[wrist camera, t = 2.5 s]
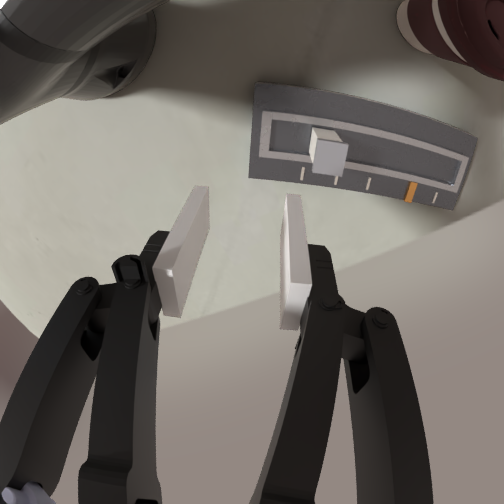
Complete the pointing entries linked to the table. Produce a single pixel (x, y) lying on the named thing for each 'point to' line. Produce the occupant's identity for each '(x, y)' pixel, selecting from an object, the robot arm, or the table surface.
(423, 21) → the coffee cup
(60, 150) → the table surface
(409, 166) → the console
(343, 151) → the fader knob
